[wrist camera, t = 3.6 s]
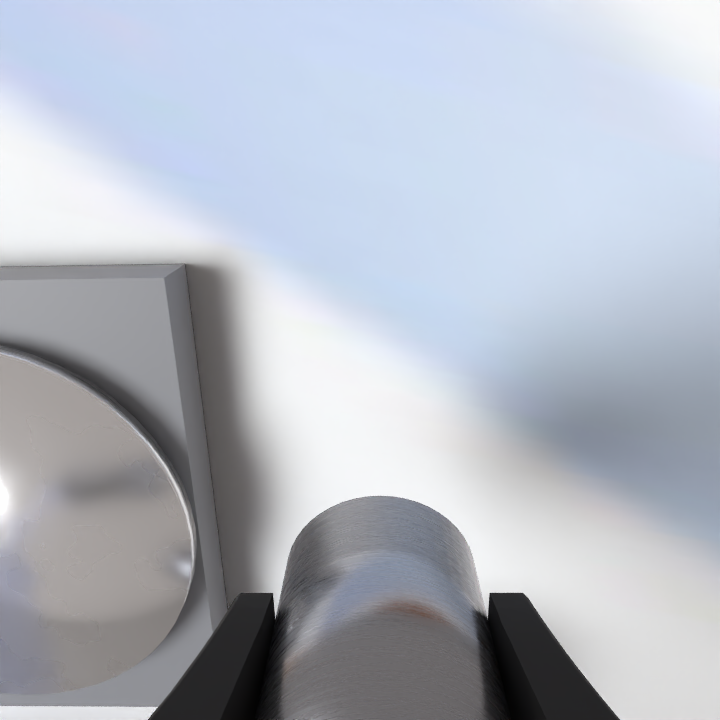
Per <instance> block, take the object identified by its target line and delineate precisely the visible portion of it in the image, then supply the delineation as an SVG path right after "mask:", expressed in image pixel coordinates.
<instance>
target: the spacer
mask: <svg viewBox="0 0 720 720" xmlns="http://www.w3.org/2000/svg"><path fill="white" fill-rule="evenodd" d="M255 720H511V717H510V713H509V708H508V704H507V700H506V696H505V692H504V687H503V683H502V679H501V675H500V670H499V666H498V662H497V658H496V653H495V649H494V645H493V641H492V636H491V632H490V628H489V624H488V619H487V615H486V611H485V607H484V602H483V598H482V594H481V590H480V585H479V581H478V577H477V573H476V569H475V564H474V560H473V556H472V553H471V550H470V548H469V546H468V544H467V542H466V540H465V538H464V537H463V535H462V534H461V533H460V531H459V530H458V529H457V528H456V527H455V526H454V525H453V524H452V523H451V522H450V521H449V520H448V519H447V518H445V517H444V516H443V515H441V514H440V513H439V512H437V511H435V510H433V509H432V508H430V507H428V506H425V505H423V504H421V503H418V502H415V501H411V500H408V499H404V498H398V497H390V496H370V497H362V498H356V499H352V500H349V501H345V502H342V503H340V504H337V505H335V506H333V507H330V508H329V509H327V510H325V511H324V512H322V513H320V514H319V515H318V516H316V517H315V518H314V519H312V520H311V521H310V522H309V523H308V524H307V525H306V526H305V527H304V528H303V530H302V531H301V532H300V534H299V535H298V536H297V538H296V540H295V542H294V544H293V545H292V548H291V551H290V554H289V557H288V561H287V566H286V571H285V576H284V581H283V586H282V590H281V595H280V600H279V605H278V610H277V615H276V620H275V625H274V629H273V634H272V639H271V644H270V649H269V654H268V659H267V663H266V668H265V673H264V678H263V683H262V688H261V693H260V698H259V702H258V707H257V712H256V717H255Z"/></svg>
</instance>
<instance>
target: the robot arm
mask: <svg viewBox="0 0 720 720" xmlns="http://www.w3.org/2000/svg"><path fill="white" fill-rule="evenodd" d="M488 624H489V628H490V632H491V636H492V641H493V645H494V649H495V653H496V658H497V662H498V666H499V670H500V675H501V679H502V683H503V687H504V692H505V696H506V700H507V704H508V708H509V713H510V717H511V720H620V719H619V718H618V717H617V716H616V715H615V713H614V712H613V711H612V710H611V709H610V707H609V706H608V705H607V704H606V703H605V701H604V700H603V699H602V698H601V697H600V695H599V694H598V693H597V692H596V690H595V689H594V688H593V686H592V685H591V684H590V683H589V681H588V680H587V679H586V678H585V676H584V675H583V674H582V673H581V671H580V670H579V669H578V668H577V666H576V665H575V664H574V662H573V661H572V660H571V658H570V657H569V656H568V654H567V653H566V652H565V650H564V649H563V648H562V646H561V645H560V644H559V642H558V641H557V639H556V638H555V637H554V635H553V634H552V633H551V631H550V630H549V628H548V627H547V625H546V624H545V623H544V621H543V620H542V618H541V617H540V615H539V614H538V612H537V611H536V609H535V608H534V606H533V605H532V603H531V602H530V600H529V599H528V598H527V597H526V596H525V595H524V594H523V593H490V597H489V611H488ZM274 625H275V612H274V601H273V593H241V594H239V595H238V596H237V597H236V598H235V600H234V601H233V603H232V604H231V606H230V608H229V609H228V611H227V612H226V614H225V616H224V617H223V619H222V620H221V622H220V623H219V625H218V626H217V628H216V629H215V631H214V632H213V634H212V635H211V637H210V638H209V640H208V641H207V643H206V644H205V645H204V647H203V648H202V650H201V651H200V653H199V654H198V655H197V657H196V658H195V659H194V661H193V662H192V664H191V665H190V666H189V668H188V669H187V670H186V672H185V673H184V674H183V676H182V677H181V679H180V680H179V681H178V683H177V684H176V685H175V687H174V688H173V689H172V691H171V692H170V693H169V694H168V696H167V697H166V698H165V699H164V701H163V702H162V703H161V704H160V705H159V707H158V708H157V709H156V710H155V712H154V713H153V714H152V715H151V717H150V718H149V719H148V720H255V717H256V712H257V707H258V702H259V698H260V693H261V688H262V683H263V678H264V673H265V668H266V663H267V659H268V654H269V649H270V644H271V639H272V634H273V629H274Z"/></svg>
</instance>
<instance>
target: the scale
mask: <svg viewBox="0 0 720 720" xmlns="http://www.w3.org/2000/svg"><path fill="white" fill-rule="evenodd" d="M0 345H5V346H8V347H11V348H15V349H18V350H22V351H25V352H29V353H32V354H35V355H37V356H40V357H42V358H44V359H47V360H49V361H52V362H54V363H56V364H59V365H61V366H63V367H65V368H67V369H69V370H71V371H72V372H74V373H76V374H78V375H80V376H81V377H83V378H85V379H87V380H89V381H90V382H92V383H93V384H95V385H96V386H97V387H99V388H100V389H102V390H103V391H105V392H106V393H107V394H109V395H110V396H112V397H113V398H114V399H115V400H117V401H118V402H119V403H120V404H121V405H122V406H123V407H125V408H126V409H127V410H128V411H129V412H130V413H131V414H133V415H134V416H135V417H136V418H137V419H138V420H139V422H140V423H141V424H142V425H143V426H144V427H145V428H146V429H147V430H148V431H149V433H150V434H151V435H152V436H153V437H154V438H155V439H156V441H157V442H158V444H159V445H160V447H161V448H162V449H163V451H164V452H165V454H166V455H167V456H168V458H169V459H170V461H171V463H172V465H173V466H174V468H175V470H176V472H177V474H178V476H179V478H180V480H181V481H182V483H183V486H184V489H185V492H186V494H187V497H188V500H189V502H190V505H191V509H192V514H193V518H194V523H195V528H196V543H197V555H196V565H195V572H194V576H193V580H192V583H191V587H190V591H189V593H188V596H187V598H186V600H185V603H184V605H183V607H182V610H181V612H180V614H179V616H178V618H177V620H176V623H175V624H174V626H173V627H172V628H171V630H170V631H169V633H168V634H167V636H166V637H165V639H164V640H163V641H162V642H161V643H160V644H159V645H158V646H157V647H156V648H155V649H154V650H153V652H152V653H151V654H149V655H148V656H147V657H146V658H144V659H143V660H142V661H140V662H139V663H138V664H137V665H135V666H134V667H132V668H130V669H129V670H127V671H125V672H123V673H121V674H120V675H118V676H116V677H114V678H111V679H109V680H106V681H104V682H101V683H99V684H96V685H93V686H89V687H85V688H82V689H78V690H74V691H67V692H60V693H54V694H34V695H25V694H7V693H0V706H126V707H159V705H160V704H161V703H162V702H163V701H164V699H165V698H166V697H167V696H168V694H169V693H170V692H171V691H172V689H173V688H174V687H175V685H176V684H177V683H178V681H179V680H180V679H181V677H182V676H183V674H184V673H185V672H186V670H187V669H188V668H189V666H190V665H191V664H192V662H193V661H194V659H195V658H196V657H197V655H198V654H199V653H200V651H201V650H202V648H203V647H204V645H205V644H206V643H207V641H208V640H209V638H210V637H211V635H212V634H213V632H214V631H215V629H216V628H217V626H218V625H219V623H220V622H221V620H222V619H223V617H224V616H225V614H226V612H227V611H228V608H227V600H226V592H225V584H224V576H223V568H222V560H221V552H220V543H219V535H218V527H217V519H216V511H215V503H214V495H213V487H212V479H211V471H210V462H209V454H208V446H207V438H206V430H205V422H204V414H203V406H202V398H201V389H200V381H199V373H198V365H197V357H196V349H195V341H194V333H193V325H192V317H191V308H190V300H189V292H188V284H187V276H186V268H185V264H143V265H80V266H17V267H0Z"/></svg>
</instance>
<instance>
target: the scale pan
mask: <svg viewBox="0 0 720 720" xmlns="http://www.w3.org/2000/svg"><path fill="white" fill-rule="evenodd" d="M196 555H197V543H196V528H195V523H194V518H193V514H192V509H191V505H190V502H189V500H188V497H187V494H186V492H185V489H184V486H183V483H182V481H181V480H180V478H179V476H178V474H177V472H176V470H175V468H174V466H173V465H172V463H171V461H170V459H169V458H168V456H167V455H166V454H165V452H164V451H163V449H162V448H161V447H160V445H159V444H158V442H157V441H156V439H155V438H154V437H153V436H152V435H151V434H150V433H149V431H148V430H147V429H146V428H145V427H144V426H143V425H142V424H141V423H140V422H139V420H138V419H137V418H136V417H135V416H134V415H133V414H131V413H130V412H129V411H128V410H127V409H126V408H125V407H123V406H122V405H121V404H120V403H119V402H118V401H117V400H115V399H114V398H113V397H112V396H110V395H109V394H107V393H106V392H105V391H103V390H102V389H100V388H99V387H97V386H96V385H95V384H93V383H92V382H90V381H89V380H87V379H85V378H83V377H81V376H80V375H78V374H76V373H74V372H72V371H71V370H69V369H67V368H65V367H63V366H61V365H59V364H56V363H54V362H52V361H49V360H47V359H44V358H42V357H40V356H37V355H35V354H32V353H29V352H25V351H22V350H18V349H15V348H11V347H8V346H5V345H0V693H7V694H25V695H34V694H54V693H60V692H67V691H74V690H78V689H82V688H85V687H89V686H93V685H96V684H99V683H101V682H104V681H106V680H109V679H111V678H114V677H116V676H118V675H120V674H121V673H123V672H125V671H127V670H129V669H130V668H132V667H134V666H135V665H137V664H138V663H139V662H140V661H142V660H143V659H144V658H146V657H147V656H148V655H149V654H151V653H152V652H153V650H154V649H155V648H156V647H157V646H158V645H159V644H160V643H161V642H162V641H163V640H164V639H165V637H166V636H167V634H168V633H169V631H170V630H171V628H172V627H173V626H174V624H175V623H176V620H177V618H178V616H179V614H180V612H181V610H182V607H183V605H184V603H185V600H186V598H187V596H188V593H189V591H190V587H191V583H192V580H193V576H194V572H195V565H196Z"/></svg>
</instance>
